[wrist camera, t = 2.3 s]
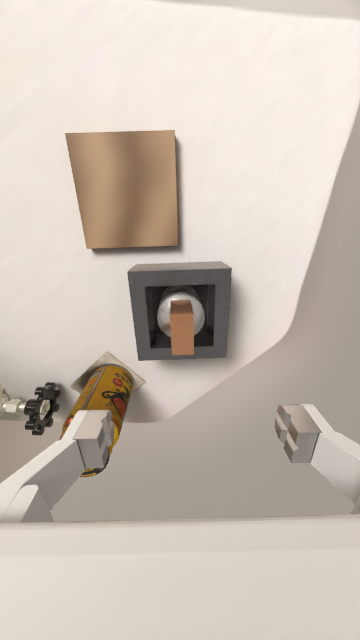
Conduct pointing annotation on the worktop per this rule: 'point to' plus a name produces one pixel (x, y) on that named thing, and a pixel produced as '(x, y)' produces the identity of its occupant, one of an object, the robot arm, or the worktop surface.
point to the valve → (33, 407)
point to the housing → (172, 274)
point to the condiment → (105, 395)
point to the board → (126, 187)
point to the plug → (181, 317)
